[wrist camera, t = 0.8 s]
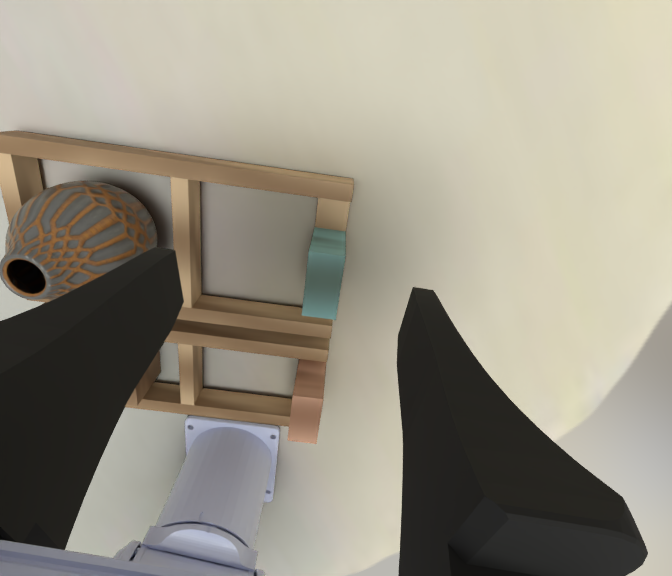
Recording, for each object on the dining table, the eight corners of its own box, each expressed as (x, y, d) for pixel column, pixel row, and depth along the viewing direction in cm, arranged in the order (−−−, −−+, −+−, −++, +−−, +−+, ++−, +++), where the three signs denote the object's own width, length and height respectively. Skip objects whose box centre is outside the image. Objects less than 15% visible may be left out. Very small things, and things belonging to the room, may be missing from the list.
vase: (47, 215, 26) (-83, 264, 18) (112, 149, 24) (0, 172, 16) (127, 289, 29) (43, 362, 21) (193, 235, 27) (128, 291, 19)
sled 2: (318, 411, 32) (313, 461, 28) (66, 381, 32) (19, 427, 27) (329, 335, 29) (326, 377, 25) (49, 299, 29) (-6, 336, 24)
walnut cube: (161, 371, 32) (137, 405, 28) (111, 364, 32) (80, 399, 28) (158, 329, 30) (132, 360, 26) (105, 322, 30) (72, 352, 26)
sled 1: (331, 323, 29) (328, 365, 24) (47, 287, 28) (-10, 322, 24) (353, 178, 24) (354, 196, 20) (15, 130, 24) (-63, 137, 19)
